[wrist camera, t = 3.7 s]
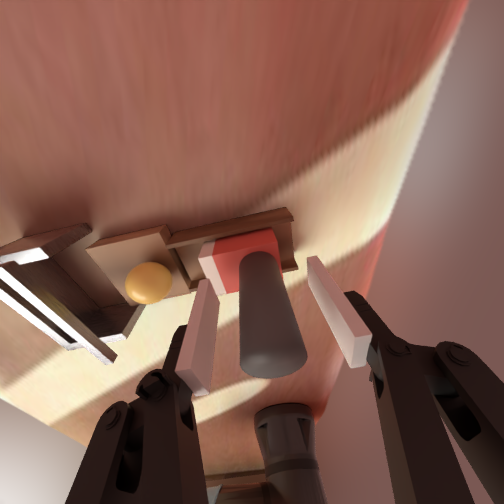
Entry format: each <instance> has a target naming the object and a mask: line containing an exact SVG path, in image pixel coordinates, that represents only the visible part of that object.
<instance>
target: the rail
mask: <svg viewBox="0 0 504 504" xmlns="http://www.w3.org/2000/svg"><path fill="white" fill-rule="evenodd" d="M292 221H294V219H293V216H292V215H291V213H290V212H289V211H288V209H287V208H286V207H283V208H279V209H274V210H270V211H265V212H261V213H257V214H252V215H248V216H243V217H239V218H235V219H230V220H226V221H221V222H217V223H213V224H208V225H204V226H199V227H195V228H191V229H186V230H182V231H177V232H174V234H173V235H172V237H171V238H170V240H169V241H168V242H167V244H166V245H165V246H166V248H167V249H171V248H175V249H176V251H177V253H178V255H179V257H180V259H181V261H182V263H183V265H184V267H185V269H186V271H187V273H188V275H189V277H190V279H191V284H190V287H189V291H190V292H194V291H197V289H198V285H199V281H200V280H204V279H207V278H206V276H205V274H204V271H203V269H202V267H201V265H200V262H199V260H198V257H199V254H200V251H201V248H202V245H203V243H204V242H206V241H210V240H215V239H219V238H224V237H228V236H233V235H237V234H242V233H246V232H251V231H255V230H260V229H264V228H269V227H272V230H273V232H274V234H275V237H276V239H277V243H278V249H279V255H280V262H281V268H282V273H285V272H289V271H294V270H298V265H297V263H296V261H295V259H294V251H293V242H292V233H291V223H290V222H292Z"/></svg>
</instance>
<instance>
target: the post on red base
mask: <svg viewBox="0 0 504 504" xmlns="http://www.w3.org/2000/svg"><path fill="white" fill-rule="evenodd" d="M198 260H199V262H200V265H201V267H202V269H203V271H204V274H205V276H206V278H207V279H208V278H209V279H210V281H211V284H212V286H213V288H214V290H215V293H216V295H217V296H218V295H223V294H228V293H233V292H238V291H239V319H240V366H241V368H242V370H243V371H244V372H245V373H247V374H248V375H251V376H253V377H257V378H266V379H268V378H279V377H283V376H286V375H289V374H292V373H294V372H296V371H297V370H299V369H300V368H301V367H302V366H303V365H304V364H305V363H306V361H307V351H306V348H305V345H304V342H303V339H302V336H301V333H300V330H299V327H298V324H297V321H296V318H295V315H294V312H293V309H292V306H291V303H290V300H289V297H288V294H287V291H286V288H285V285H284V281H283V275H282V268H281V262H280V255H279V249H278V243H277V239H276V237H275V234H274V232H273V230H272V227H269V228H264V229H260V230H255V231H251V232H246V233H242V234H237V235H233V236H228V237H224V238H219V239H215V240H210V241H206V242H204V243H203V245H202V248H201V251H200V254H199V257H198Z"/></svg>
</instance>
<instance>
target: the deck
mask: <svg viewBox="0 0 504 504" xmlns="http://www.w3.org/2000/svg"><path fill="white" fill-rule="evenodd" d="M171 237H172V236H171V234H170V232H169V230H168V228H167V225H162V226H158V227H153V228H149V229H145V230H140V231H136V232H132V233H127V234H123V235H119V236H114V237H110V238H106V239H101V240H98V241H97V242H95V243H94V244H92V245H91V246H89V247H88V248H87V249H85V250H86V251H87V253H88V254H89V255H90V256H91V258H92V259H93V260H94V261H95V263H96V264H97V265H98V266H99V267H100V269H101V270H102V271H103V272H104V274H105V275H106V276H107V277H108V279H109V280H110V281H111V282H112V284H113V285H114V286H115V287H116V289H117V290H118V291H119V292H120V293H121V295H122V296H123V297H124V298H125V300H126V301H127V302H128V303H129V305H130V306H133V305H138V304H141V303H138V302H135V301H134V300H132V299H131V298H130V297H129V296H128V294H127V292H126V289H125V280H126V277H127V275H128V274H129V272H130V271H131V270H132V269H133V268H134V267H136V266H137V265H139V264H142V263H146V262H156V263H159V264H162V265H163V266H165V267H166V268H167V269H168V270H169V271H170V273H171V275H172V280H173V283H172V288H171V290H170V292H169V293H168V295H167V296H166V297H165V298H163V299H166V298H171V297H176V296H181V295H185V294H190V293H191V292H190V291H189V287H190V284H191V279H190V277H189V275H188V273H187V271H186V269H185V267H184V265H183V263H182V261H181V259H180V257H179V255H178V253H177V251H176V249H175V248H171V249H167V248H166V246H165V245H166V244H167V242H168V241H169V240H170V238H171Z"/></svg>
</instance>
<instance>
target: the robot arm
mask: <svg viewBox="0 0 504 504" xmlns="http://www.w3.org/2000/svg"><path fill="white" fill-rule="evenodd" d="M307 270H308V285H309V287H310V289H311V291H312V293H313V295H314V297H315V299H316V301H317V303H318V305H319V307H320V309H321V311H322V313H323V315H324V317H325V318H326V320H327V322H328V324H329V326H330V328H331V330H332V332H333V334H334V336H335V338H336V340H337V342H338V344H339V346H340V348H341V350H342V352H343V354H344V356H345V358H346V360H347V362H348V364H349V366H350V368H357V367H362V366H365V365H366V361H367V362H368V363H369V365H370V367H371V368H372V369H371V373H370V377H369V381H371V382H372V381H373V385H374V391H375V397H376V402H377V407H378V413H379V418H380V423H381V429H382V434H383V439H384V445H385V450H386V456H387V461H388V466H389V472H390V477H391V482H392V488H393V493H394V499H395V504H475V503H474V501H473V498H472V495H471V493H470V490H469V488H468V485H467V483H466V480H465V478H464V475H463V473H462V470H461V468H460V465H459V462H458V460H457V458H456V455H455V452H454V450H453V447H452V445H451V442H450V440H449V437H448V435H447V432H446V429H445V427H444V424H443V422H442V419H443V421H444V422H445V424H446V426H447V427H448V429H449V430H450V432H451V433H452V435H453V437H454V439H455V440H456V442H457V443H458V445H459V447H460V448H461V450H462V452H463V453H464V455H465V456H466V458H467V460H468V462H469V463H470V465H471V466H472V468H473V470H474V471H475V473H476V475H477V476H478V478H479V480H480V481H481V483H482V484H483V486H484V488H485V489H486V491H487V493H488V494H489V496H490V497H491V499H492V501H493V502H494V504H504V383H503V382H502V381H501V380H500V379H499V378H498V377H497V376H496V375H495V374H494V373H493V372H492V370H491V369H490V368H489V367H488V366H487V365H486V364H485V363H484V362H483V361H482V360H481V359H480V358H479V357H478V356H477V355H476V354H475V353H474V352H472V351H471V350H470V349H468V348H466V347H464V346H463V345H460V344H457V343H454V342H448V341H444V342H440V343H439V344H438V345H437V346H436V347H428V346H420V345H413V344H409V343H407V342H406V341H405V340H403V339H401V338H399V337H396V336H395V335H394V334H393V333H392V332H391V331H390V329H389V328H388V327H387V326H386V325H385V323H384V322H383V321H382V320H381V318H380V317H379V316H378V315H377V313H376V312H375V311H374V310H373V309H372V308H371V306H370V305H369V304H368V302H367V301H366V300H365V299H364V298H363V296H362V295H360V294H358V293H357V292H355V291H349V292H344V293H343V292H342V291H341V289H340V288H339V286H338V285H337V283H336V282H335V281H334V279H333V278H332V276H331V275H330V274H329V272H328V271H327V269H326V268H325V266H324V265H323V264H322V262H321V261H320V259H319V258H318V257H317V256H312V257H307ZM219 305H220V302H219V300H218V297H217V295H216V293H215V290H214V288H213V286H212V284H211V281H210V279H209V278H208V279H204V280H200V281H199V285H198V289H197V292H196V296H195V300H194V303H193V307H192V310H191V314H190V318H189V321H188V324H187V325H182V326H179V327H178V329H177V330H176V332H175V333H174V335H173V338H172V341H171V344H170V347H169V351H168V353H167V356H166V359H165V362H164V365H163V368H162V369H155V370H152V371H150V372H149V373H148V374H146V375H145V376H144V377H143V378H142V380H141V381H140V383H139V384H138V386H137V389H136V394H137V395H138V396H140V398H138V399H136V400H134V401H132V402H130V403H129V404H127V403H126V402H124V401H118V402H116V403H114V404H112V405H111V406H110V407H109V408H108V409H107V410H106V411H105V412H104V413H103V415H102V416H101V417H100V419H99V421H98V423H97V425H96V428H95V430H94V433H93V435H92V438H91V440H90V443H89V445H88V448H87V450H86V453H85V455H84V458H83V460H82V462H81V465H80V468H79V470H78V472H77V475H76V478H75V480H74V483H73V485H72V487H71V490H70V492H69V495H68V497H67V500H66V502H65V504H328V502H327V498H326V494H325V490H324V486H323V482H322V478H321V474H320V471H319V467H318V463H317V459H316V451H315V450H316V449H315V422H314V418H313V414H312V411H311V409H310V408H309V407H307V406H305V405H301V404H281V405H275V406H272V407H268V408H266V409H263V410H261V411H260V412H258V413H257V414H256V415H255V417H254V428H255V433H256V436H257V440H258V443H259V446H260V450H261V453H262V456H263V460H264V465H265V475H266V482H261V483H248V484H236V485H225V486H223V484H220V485H219V486H216V487H210V488H206V482H205V476H204V470H203V463H202V457H201V451H200V445H199V438H198V432H197V426H196V419H195V413H194V407H193V404H192V401H191V396H192V392H193V393H194V395H195V396H201V395H207V394H210V386H211V377H212V368H213V359H214V350H215V341H216V332H217V323H218V314H219ZM440 416H441V417H442V419H441V417H440Z"/></svg>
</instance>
